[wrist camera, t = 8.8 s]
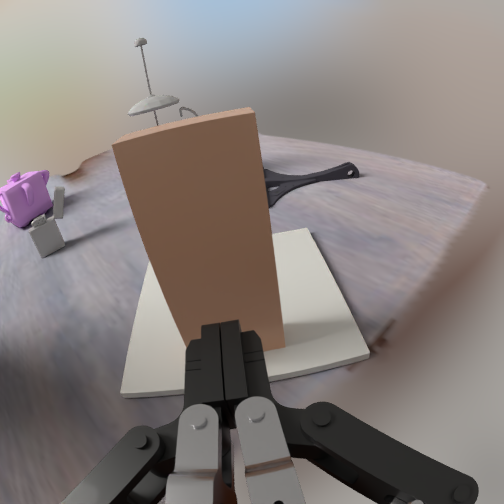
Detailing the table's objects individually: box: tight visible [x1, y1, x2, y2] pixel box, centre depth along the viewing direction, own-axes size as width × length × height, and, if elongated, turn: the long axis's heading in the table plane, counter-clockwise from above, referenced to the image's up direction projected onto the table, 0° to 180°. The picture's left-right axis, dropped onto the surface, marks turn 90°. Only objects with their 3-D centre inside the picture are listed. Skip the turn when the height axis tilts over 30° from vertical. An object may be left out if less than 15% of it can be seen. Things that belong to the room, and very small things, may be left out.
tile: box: [112, 107, 286, 352], centre depth 16 cm, size 6×2×14 cm, turn 96°
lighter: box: [29, 187, 65, 258], centre depth 36 cm, size 7×2×8 cm, turn 129°
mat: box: [120, 228, 370, 398], centre depth 24 cm, size 16×16×1 cm
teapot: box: [0, 170, 53, 228], centre depth 51 cm, size 18×14×10 cm
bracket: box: [263, 162, 359, 208], centre depth 43 cm, size 14×15×3 cm
